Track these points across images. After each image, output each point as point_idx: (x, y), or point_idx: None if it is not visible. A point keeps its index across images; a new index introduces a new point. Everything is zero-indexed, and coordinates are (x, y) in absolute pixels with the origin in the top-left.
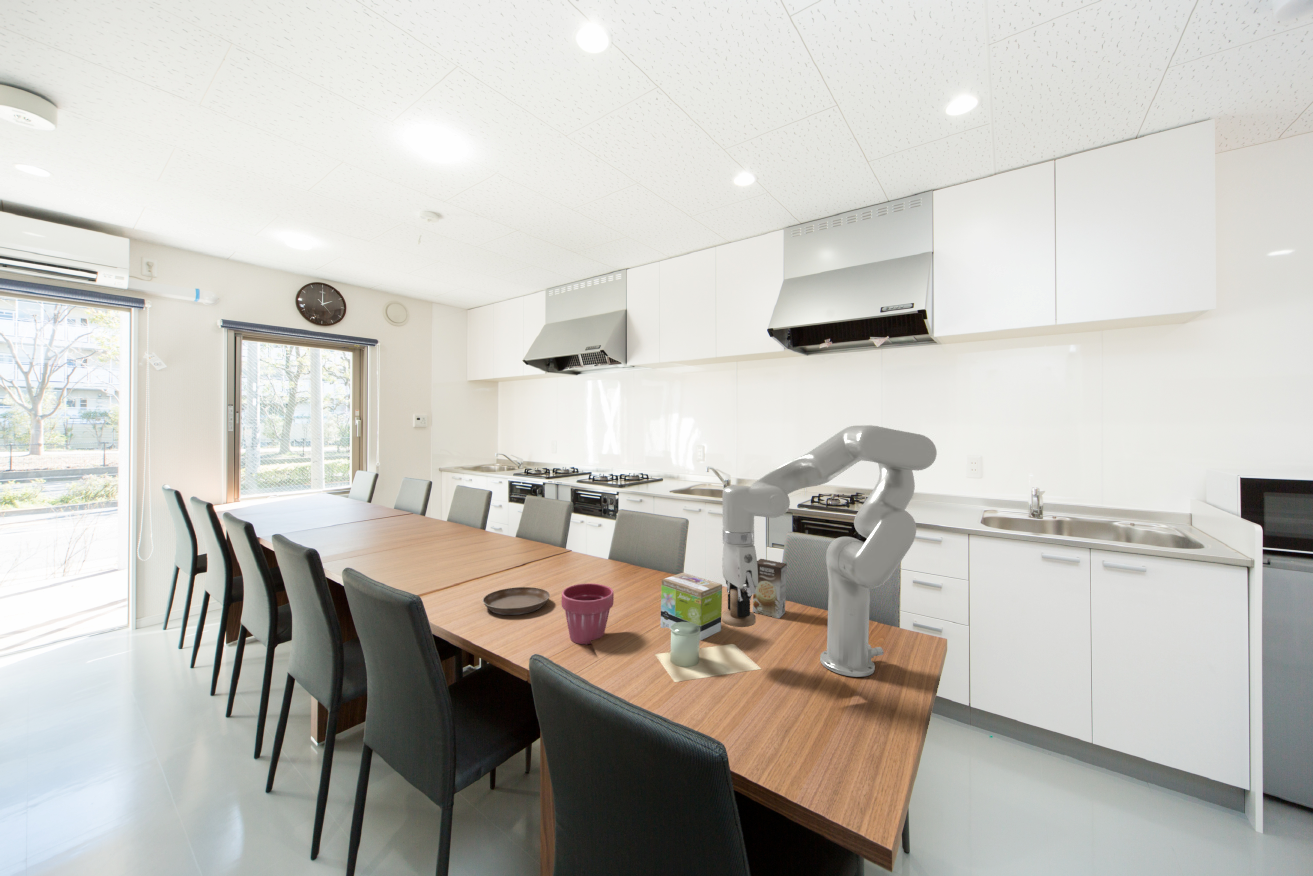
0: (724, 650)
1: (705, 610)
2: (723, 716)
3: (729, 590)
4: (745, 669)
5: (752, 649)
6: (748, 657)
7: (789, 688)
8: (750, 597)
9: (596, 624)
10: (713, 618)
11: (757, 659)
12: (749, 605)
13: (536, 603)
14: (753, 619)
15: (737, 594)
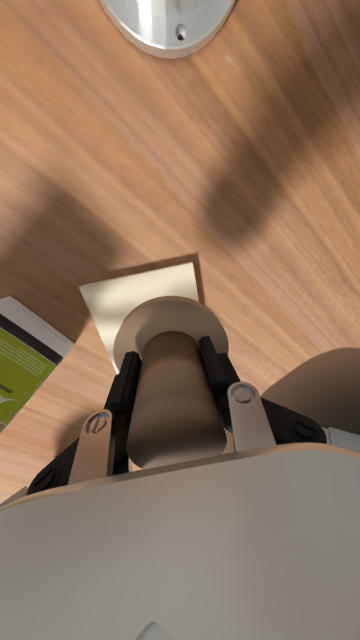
0: (114, 313)
1: (20, 379)
2: (286, 348)
3: (131, 461)
4: (191, 294)
5: (81, 242)
6: (143, 273)
7: (248, 224)
8: (281, 407)
9: None
10: (7, 336)
11: (131, 248)
12: (218, 360)
13: None
14: (216, 319)
15: (219, 450)
